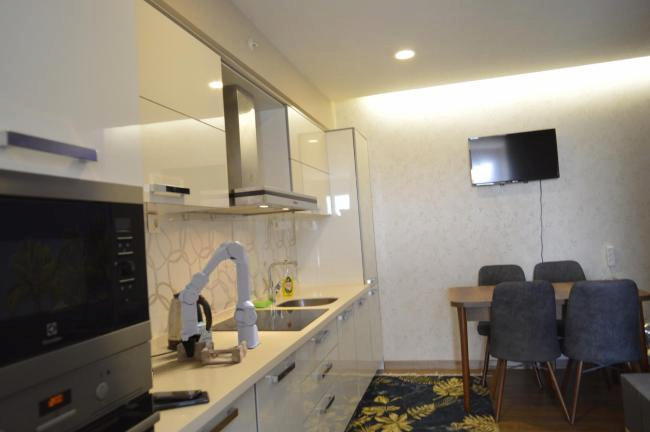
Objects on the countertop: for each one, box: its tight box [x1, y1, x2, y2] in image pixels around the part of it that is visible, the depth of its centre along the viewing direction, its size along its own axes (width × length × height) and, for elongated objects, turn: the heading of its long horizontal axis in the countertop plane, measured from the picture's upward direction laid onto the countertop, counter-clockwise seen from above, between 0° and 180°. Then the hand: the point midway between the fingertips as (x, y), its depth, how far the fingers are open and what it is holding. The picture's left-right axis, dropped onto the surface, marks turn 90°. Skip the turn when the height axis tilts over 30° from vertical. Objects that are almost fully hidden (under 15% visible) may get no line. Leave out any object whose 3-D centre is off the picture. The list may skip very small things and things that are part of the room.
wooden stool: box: [201, 340, 248, 366], centre depth 178 cm, size 14×14×5 cm
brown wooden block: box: [176, 341, 206, 362], centre depth 181 cm, size 10×4×6 cm, turn 89°
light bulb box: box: [180, 321, 214, 347], centre depth 196 cm, size 11×7×11 cm, turn 141°
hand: (192, 355), depth 181 cm, fingers closed on brown wooden block, 4 cm apart
